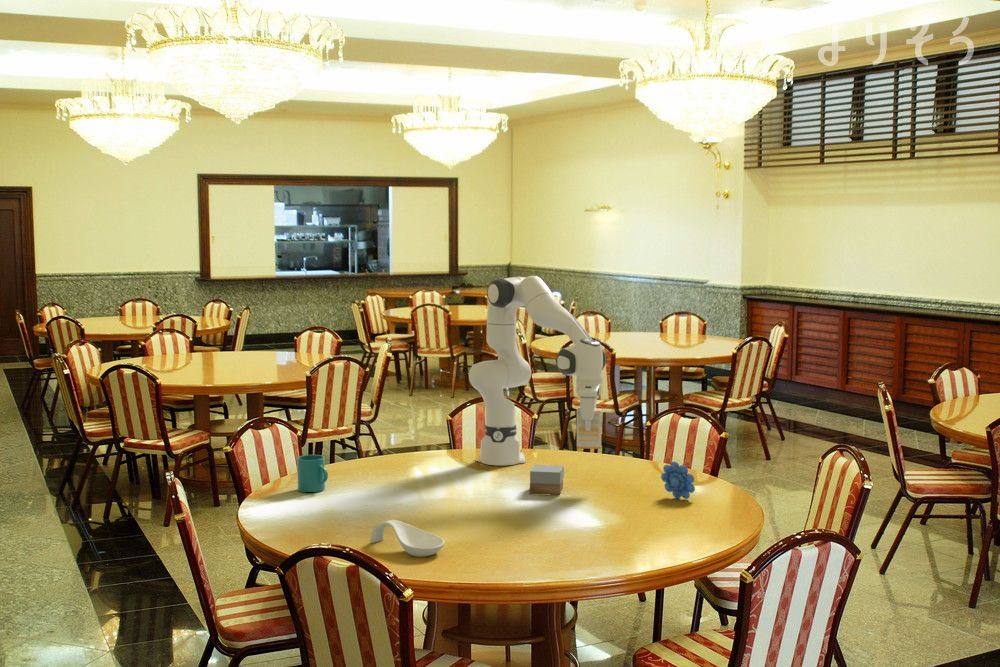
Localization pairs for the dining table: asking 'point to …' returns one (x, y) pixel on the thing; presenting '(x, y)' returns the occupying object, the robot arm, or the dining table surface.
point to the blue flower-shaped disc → (678, 480)
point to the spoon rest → (410, 538)
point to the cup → (311, 473)
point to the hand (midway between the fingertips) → (588, 428)
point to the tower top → (547, 474)
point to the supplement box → (589, 437)
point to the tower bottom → (546, 488)
